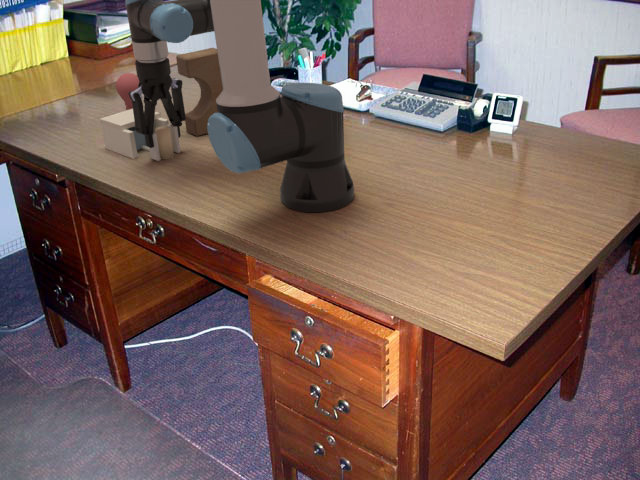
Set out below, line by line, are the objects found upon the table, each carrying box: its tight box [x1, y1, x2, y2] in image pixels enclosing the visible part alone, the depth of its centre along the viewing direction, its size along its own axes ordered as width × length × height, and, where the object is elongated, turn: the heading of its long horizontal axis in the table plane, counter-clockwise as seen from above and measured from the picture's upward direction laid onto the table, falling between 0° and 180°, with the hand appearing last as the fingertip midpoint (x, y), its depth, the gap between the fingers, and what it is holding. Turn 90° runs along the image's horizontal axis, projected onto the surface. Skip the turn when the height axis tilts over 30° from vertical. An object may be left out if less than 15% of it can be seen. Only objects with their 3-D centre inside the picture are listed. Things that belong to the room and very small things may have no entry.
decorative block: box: [175, 47, 223, 137], centre depth 181 cm, size 11×6×20 cm, turn 127°
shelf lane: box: [99, 107, 170, 160], centre depth 175 cm, size 12×11×8 cm
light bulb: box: [115, 72, 139, 111], centre depth 196 cm, size 7×7×12 cm
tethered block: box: [127, 126, 175, 160], centre depth 172 cm, size 17×6×7 cm, turn 48°
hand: (165, 155), depth 170 cm, fingers open, 5 cm apart
